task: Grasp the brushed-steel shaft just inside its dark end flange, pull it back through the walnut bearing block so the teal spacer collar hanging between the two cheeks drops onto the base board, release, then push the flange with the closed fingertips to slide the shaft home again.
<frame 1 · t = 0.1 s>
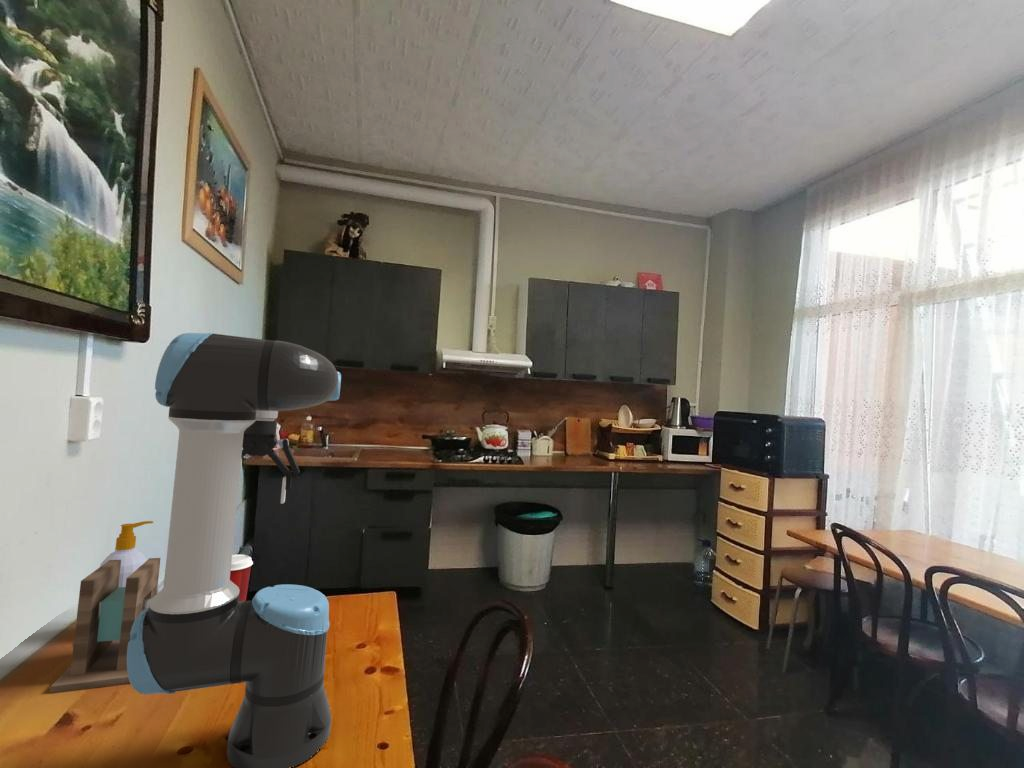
hand: (253, 502, 118), 28 cm above the table, fingers open, 13 cm apart
shaft: (149, 606, 96), point 11 cm above the table, slide at 0.0 cm, touching spacer
bearing block: (128, 660, 94), on the table
spacer: (116, 631, 94), point 6 cm above the table, touching shaft
soap bottle: (118, 630, 106), on the table
coffee cup: (228, 622, 113), on the table
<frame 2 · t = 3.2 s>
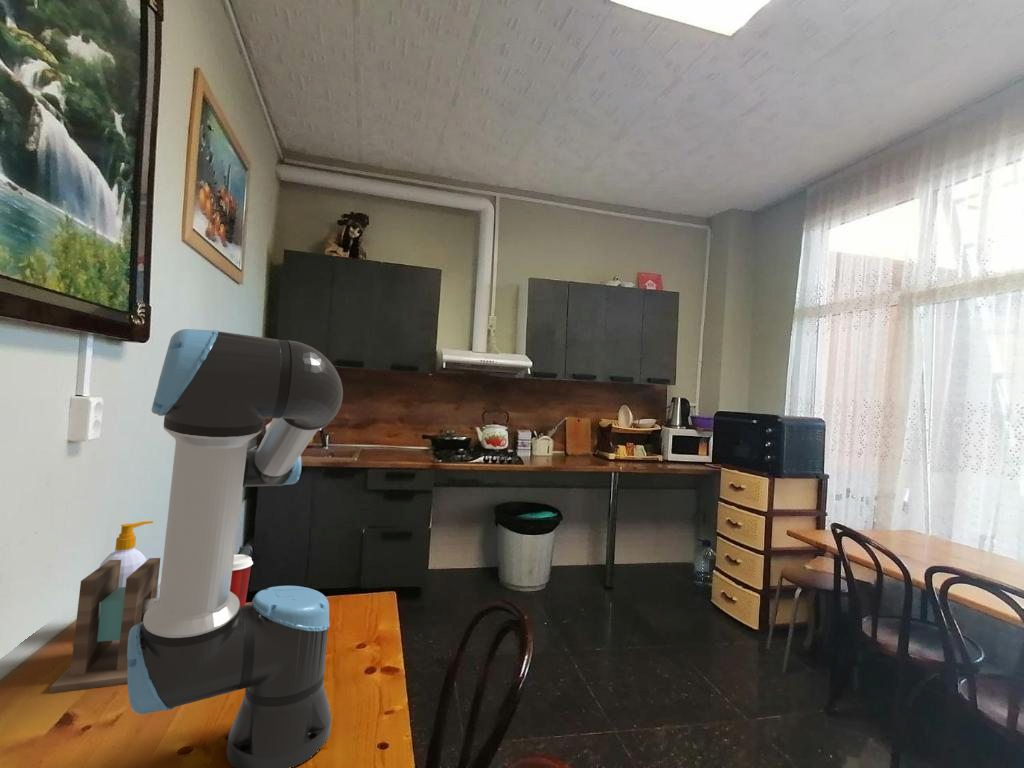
hand: (180, 620, 98), 7 cm above the table, fingers closed on shaft, 3 cm apart
shaft: (149, 606, 96), point 11 cm above the table, slide at 0.0 cm, touching gripper, spacer
everything else where it was.
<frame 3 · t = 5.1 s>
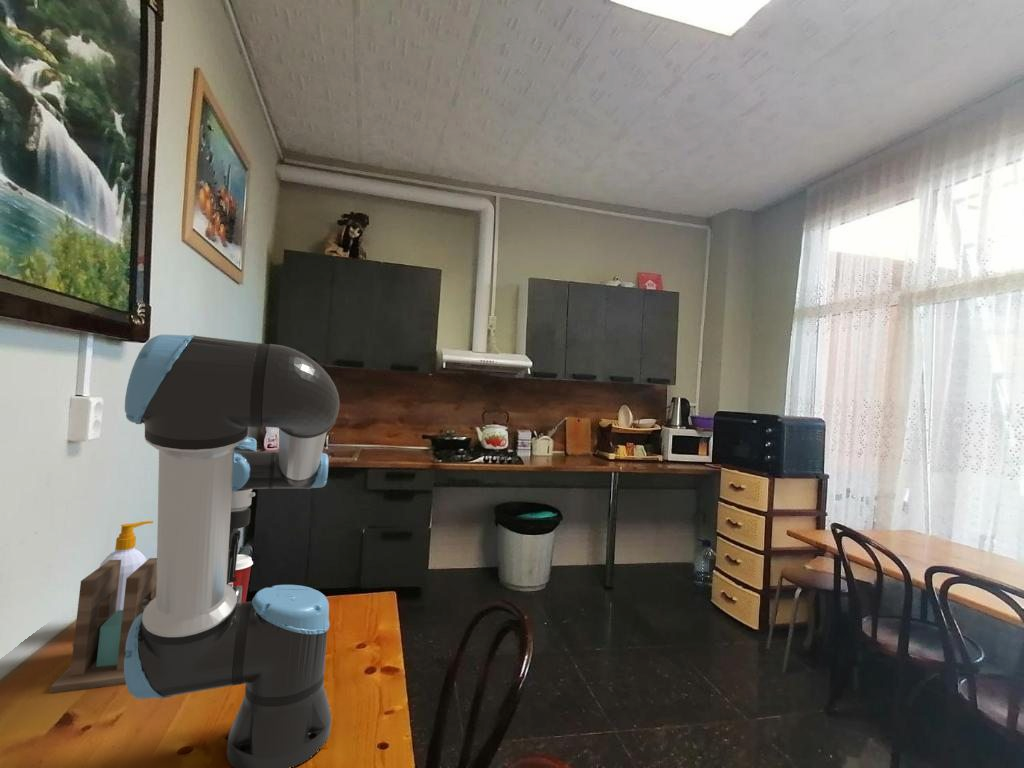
hand: (220, 617, 100), 7 cm above the table, fingers closed on shaft, 3 cm apart
shaft: (191, 603, 98), point 11 cm above the table, slide at 7.3 cm, touching gripper
spacer: (116, 655, 94), point 1 cm above the table, touching bearing block
everything else where it was.
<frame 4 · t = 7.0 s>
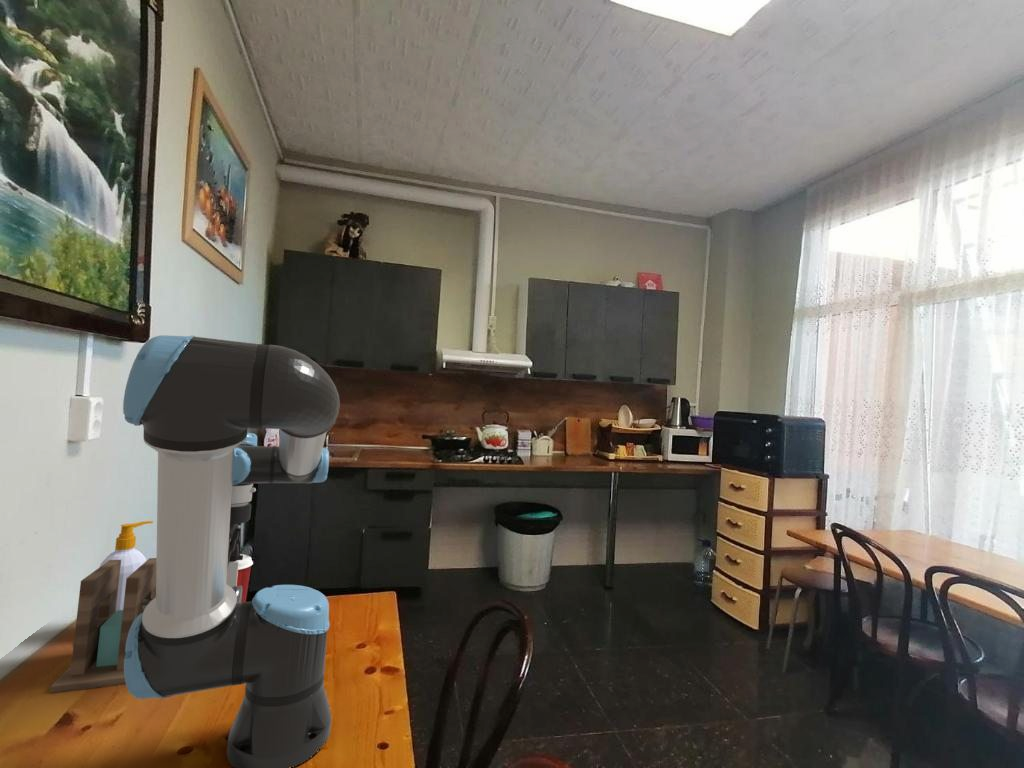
hand: (222, 603, 100), 10 cm above the table, fingers open, 13 cm apart
shaft: (191, 603, 98), point 11 cm above the table, slide at 7.3 cm
everything else where it was.
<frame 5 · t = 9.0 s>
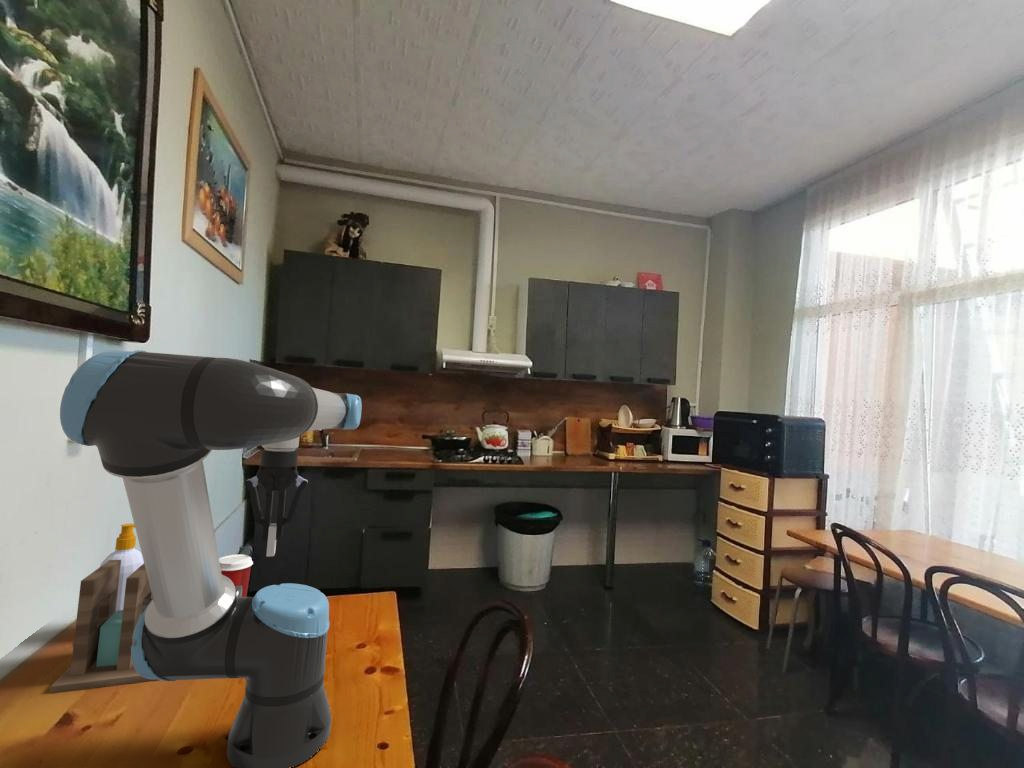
hand: (270, 554, 104), 20 cm above the table, fingers closed
nothing on the table moved.
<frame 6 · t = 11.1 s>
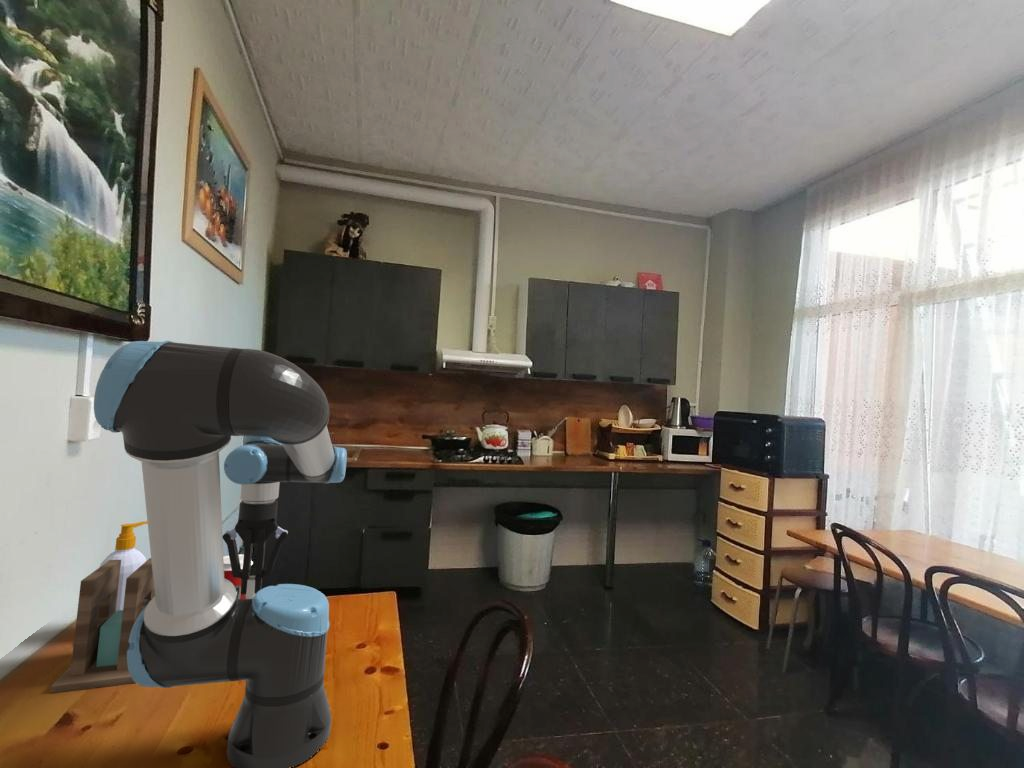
hand: (249, 607, 102), 8 cm above the table, fingers closed
shaft: (189, 603, 98), point 11 cm above the table, slide at 7.0 cm, touching gripper
everything else where it was.
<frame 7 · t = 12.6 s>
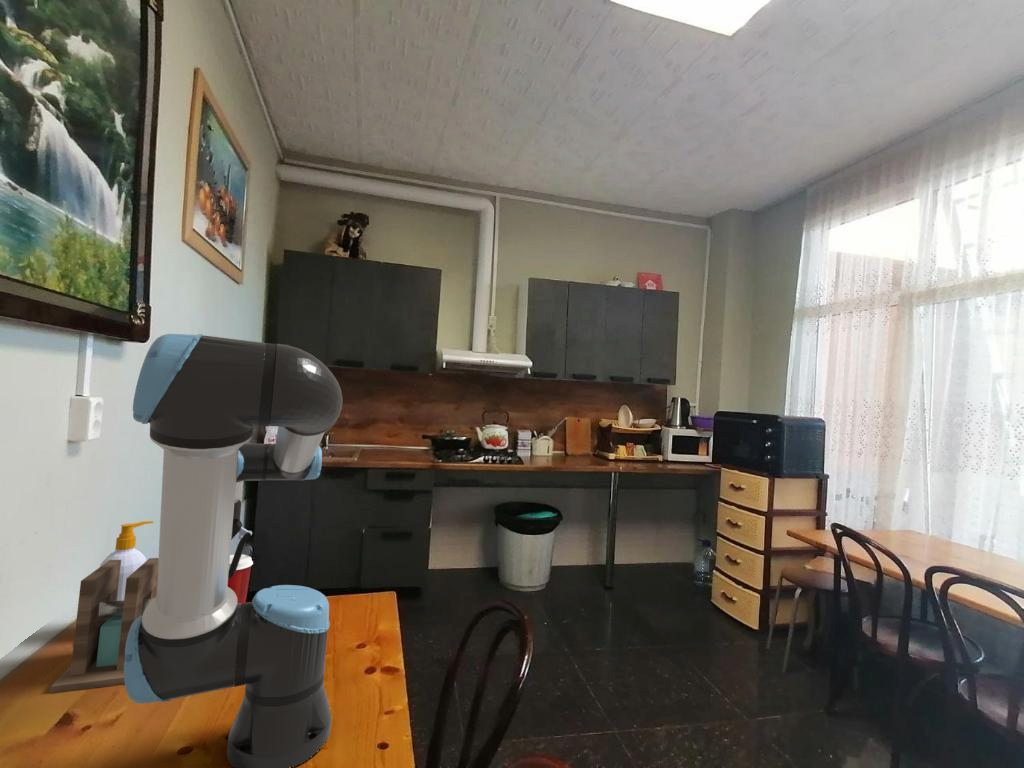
hand: (212, 610, 100), 8 cm above the table, fingers closed
shaft: (149, 606, 96), point 11 cm above the table, slide at -0.1 cm, touching gripper
everything else where it was.
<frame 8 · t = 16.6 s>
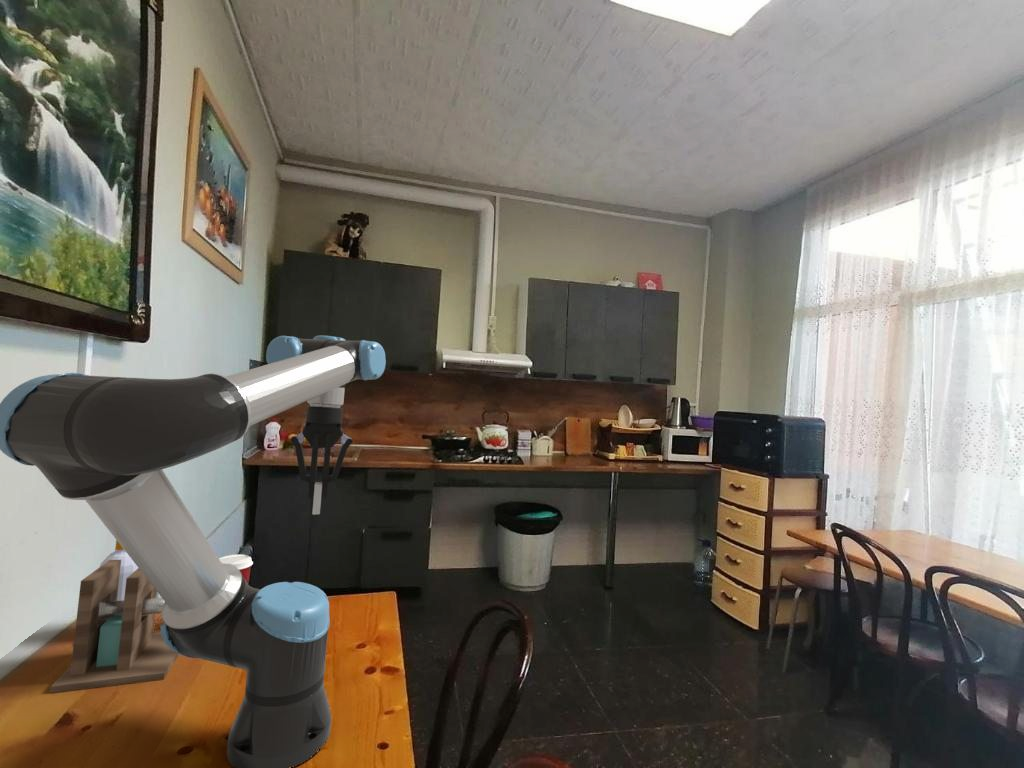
hand: (316, 512, 102), 30 cm above the table, fingers closed
shaft: (149, 606, 96), point 11 cm above the table, slide at 0.0 cm
everything else where it was.
at the end: spacer point 1.2 cm above the table; spacer touching bearing block; shaft slide at 0.0 cm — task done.
